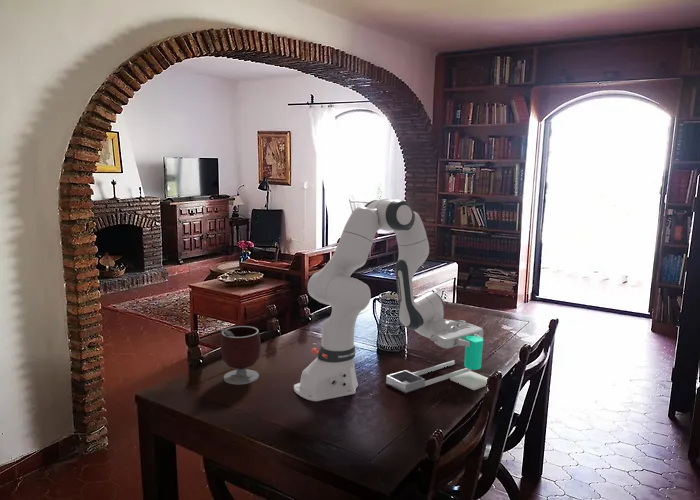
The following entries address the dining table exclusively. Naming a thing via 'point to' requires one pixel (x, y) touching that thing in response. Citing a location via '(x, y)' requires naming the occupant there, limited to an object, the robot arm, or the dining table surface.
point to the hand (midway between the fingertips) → (476, 342)
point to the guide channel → (443, 375)
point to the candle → (473, 353)
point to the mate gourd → (240, 353)
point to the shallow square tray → (405, 381)
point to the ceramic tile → (470, 380)
